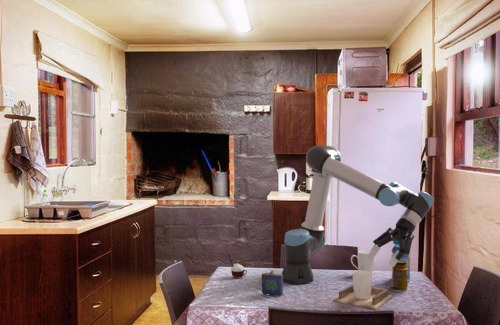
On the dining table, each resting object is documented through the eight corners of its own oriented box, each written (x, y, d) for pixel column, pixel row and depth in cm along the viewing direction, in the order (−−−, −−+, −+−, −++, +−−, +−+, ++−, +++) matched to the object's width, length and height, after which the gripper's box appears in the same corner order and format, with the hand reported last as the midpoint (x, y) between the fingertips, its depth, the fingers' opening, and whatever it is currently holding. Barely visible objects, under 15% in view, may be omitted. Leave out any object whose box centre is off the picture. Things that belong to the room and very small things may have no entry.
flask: (283, 294, 194) (283, 269, 194) (282, 296, 191) (281, 271, 191) (262, 293, 196) (262, 268, 196) (260, 295, 194) (260, 270, 193)
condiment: (412, 289, 200) (411, 261, 200) (399, 292, 195) (399, 264, 195) (398, 285, 206) (398, 258, 206) (385, 288, 201) (385, 261, 201)
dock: (333, 301, 184) (333, 292, 184) (351, 290, 199) (351, 282, 199) (376, 309, 174) (376, 300, 174) (392, 297, 188) (392, 289, 188)
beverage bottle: (400, 282, 209) (399, 239, 209) (387, 278, 217) (387, 236, 217) (414, 280, 213) (414, 238, 213) (401, 276, 221) (401, 235, 220)
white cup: (350, 294, 190) (349, 270, 190) (368, 293, 191) (368, 270, 191) (356, 300, 183) (355, 275, 182) (375, 299, 183) (375, 274, 183)
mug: (372, 272, 229) (372, 249, 228) (377, 276, 220) (377, 253, 220) (348, 273, 228) (348, 250, 228) (353, 277, 220) (353, 253, 220)
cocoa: (247, 276, 225) (248, 252, 225) (245, 279, 219) (246, 254, 219) (228, 275, 227) (229, 251, 227) (225, 278, 220) (226, 253, 221)
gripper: (435, 233, 184) (406, 274, 179) (393, 224, 207) (366, 260, 202) (424, 220, 182) (395, 262, 176) (383, 213, 205) (356, 250, 199)
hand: (379, 261), depth 189 cm, fingers open, 13 cm apart
